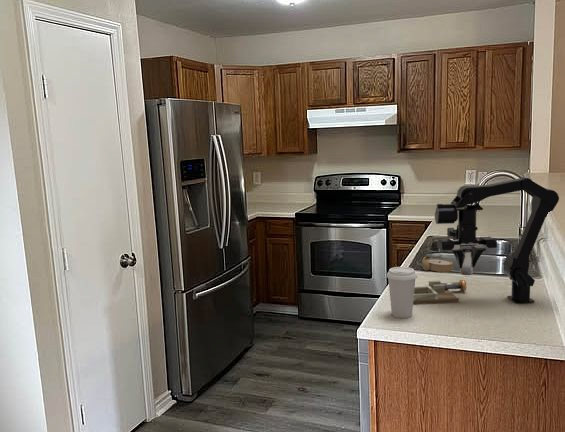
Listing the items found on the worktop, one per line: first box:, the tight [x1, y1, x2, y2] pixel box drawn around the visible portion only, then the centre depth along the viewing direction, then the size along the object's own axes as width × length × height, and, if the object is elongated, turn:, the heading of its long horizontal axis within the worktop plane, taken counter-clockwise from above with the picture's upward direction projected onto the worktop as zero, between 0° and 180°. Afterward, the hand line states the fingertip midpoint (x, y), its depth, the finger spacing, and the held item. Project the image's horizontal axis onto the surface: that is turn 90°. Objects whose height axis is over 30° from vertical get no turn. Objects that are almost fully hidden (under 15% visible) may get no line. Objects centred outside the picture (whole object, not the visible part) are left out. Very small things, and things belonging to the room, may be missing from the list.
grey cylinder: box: [459, 247, 474, 276], centre depth 174 cm, size 4×4×9 cm
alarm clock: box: [416, 256, 455, 273], centre depth 219 cm, size 11×5×15 cm
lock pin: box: [439, 279, 468, 292], centre depth 186 cm, size 4×9×4 cm, turn 91°
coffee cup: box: [386, 266, 418, 319], centre depth 165 cm, size 10×10×15 cm
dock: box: [413, 280, 460, 306], centre depth 182 cm, size 14×16×4 cm
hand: (466, 267), depth 175 cm, fingers closed on grey cylinder, 4 cm apart
